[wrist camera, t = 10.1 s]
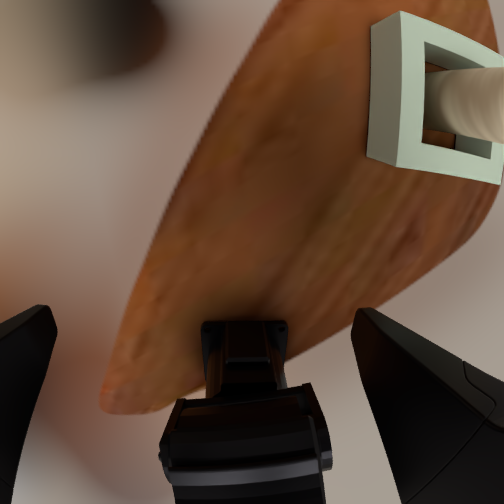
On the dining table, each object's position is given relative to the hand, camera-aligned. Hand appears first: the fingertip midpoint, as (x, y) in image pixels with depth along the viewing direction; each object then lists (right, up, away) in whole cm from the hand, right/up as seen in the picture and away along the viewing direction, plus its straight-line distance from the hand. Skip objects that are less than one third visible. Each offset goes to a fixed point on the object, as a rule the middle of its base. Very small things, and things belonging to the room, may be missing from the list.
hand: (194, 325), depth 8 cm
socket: (+13, +12, +9) cm, 20 cm away
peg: (+13, +12, +9) cm, 20 cm away
